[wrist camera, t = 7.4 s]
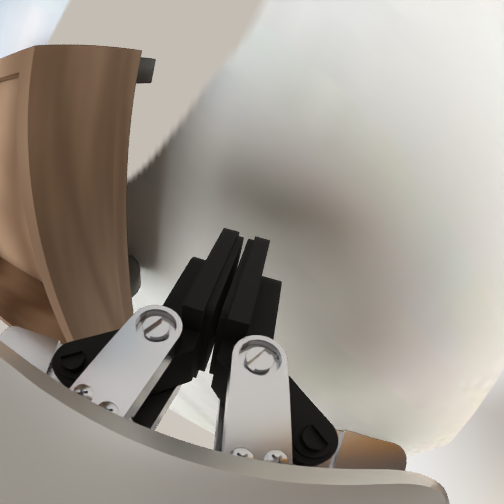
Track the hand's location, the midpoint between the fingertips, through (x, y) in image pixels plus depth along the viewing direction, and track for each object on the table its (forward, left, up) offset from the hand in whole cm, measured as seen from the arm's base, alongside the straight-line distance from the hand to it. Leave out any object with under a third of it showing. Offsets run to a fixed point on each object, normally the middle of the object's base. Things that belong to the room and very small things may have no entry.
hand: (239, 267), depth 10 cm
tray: (+13, 0, -5) cm, 14 cm away
